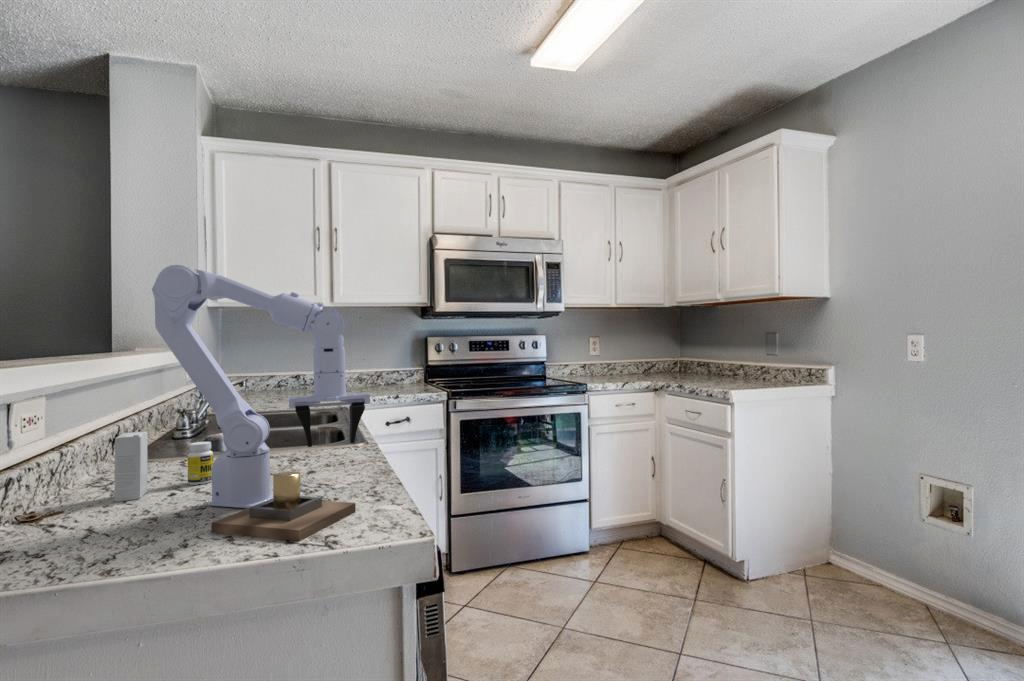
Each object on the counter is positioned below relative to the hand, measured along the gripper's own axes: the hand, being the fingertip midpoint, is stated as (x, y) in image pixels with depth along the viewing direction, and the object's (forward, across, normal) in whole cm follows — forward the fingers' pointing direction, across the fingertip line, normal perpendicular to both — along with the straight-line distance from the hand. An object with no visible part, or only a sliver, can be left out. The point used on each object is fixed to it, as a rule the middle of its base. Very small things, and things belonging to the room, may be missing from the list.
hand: (331, 444), depth 104 cm
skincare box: (+10, -36, +17) cm, 40 cm away
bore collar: (+8, -8, -14) cm, 18 cm away
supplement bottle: (+10, -25, +23) cm, 35 cm away
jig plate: (+9, -8, -14) cm, 19 cm away
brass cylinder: (+8, -8, -14) cm, 18 cm away
